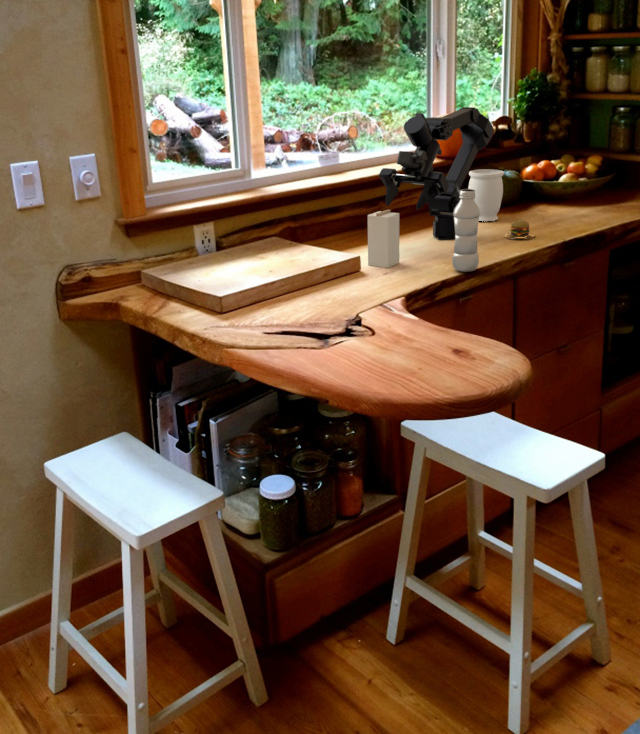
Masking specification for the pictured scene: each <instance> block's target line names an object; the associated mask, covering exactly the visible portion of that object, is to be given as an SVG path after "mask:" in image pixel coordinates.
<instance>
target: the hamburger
mask: <svg viewBox="0 0 640 734" xmlns="http://www.w3.org/2000/svg"><path fill="white" fill-rule="evenodd" d="M507 233H508V232H507ZM507 233H505V234H507ZM509 233H510V234H511V235H510V236H513V237H525V236H528V237H529V234H530V233H531V232H530V224H529V222H528V221H527V220H525V219H517V220H514V221H513V222H512V223H511V226H510V229H509ZM513 237H512V238H513Z"/></svg>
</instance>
